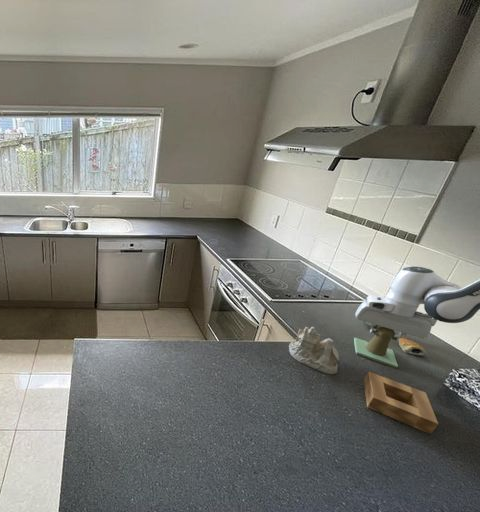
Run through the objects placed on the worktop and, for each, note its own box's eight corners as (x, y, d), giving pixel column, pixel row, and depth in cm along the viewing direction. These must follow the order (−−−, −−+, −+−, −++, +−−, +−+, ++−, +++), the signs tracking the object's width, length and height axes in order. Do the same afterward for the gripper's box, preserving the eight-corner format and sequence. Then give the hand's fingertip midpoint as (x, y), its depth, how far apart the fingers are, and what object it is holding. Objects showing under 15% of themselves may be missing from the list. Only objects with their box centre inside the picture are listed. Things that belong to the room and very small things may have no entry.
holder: (419, 402, 92) (425, 392, 90) (430, 434, 82) (438, 423, 80) (363, 380, 100) (368, 371, 98) (367, 407, 89) (373, 397, 88)
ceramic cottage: (333, 378, 100) (348, 343, 95) (282, 354, 111) (292, 321, 106) (342, 361, 110) (355, 328, 105) (293, 340, 121) (304, 310, 116)
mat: (391, 351, 115) (392, 349, 115) (397, 368, 106) (398, 366, 106) (353, 339, 122) (354, 337, 121) (355, 353, 113) (356, 352, 112)
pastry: (392, 339, 122) (396, 332, 121) (412, 344, 120) (416, 336, 119) (404, 353, 114) (408, 345, 113) (425, 358, 112) (430, 350, 111)
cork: (378, 357, 110) (391, 334, 106) (361, 346, 115) (373, 324, 111) (389, 354, 111) (402, 332, 107) (372, 344, 117) (383, 322, 113)
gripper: (436, 313, 102) (418, 343, 107) (362, 294, 113) (349, 322, 119) (441, 321, 97) (422, 352, 103) (364, 300, 109) (350, 329, 114)
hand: (382, 336), depth 111 cm, fingers closed on cork, 5 cm apart
